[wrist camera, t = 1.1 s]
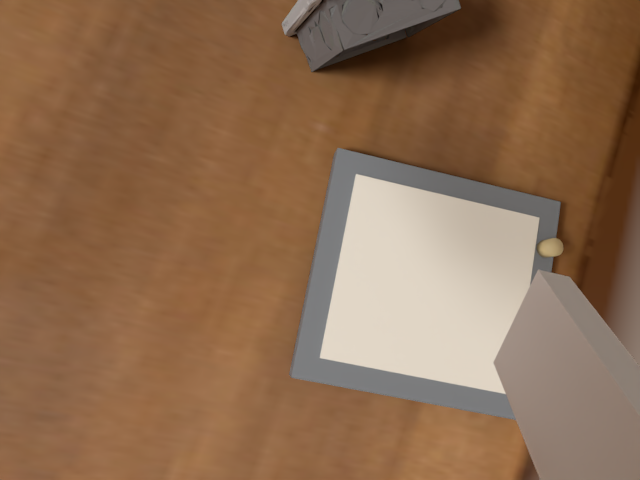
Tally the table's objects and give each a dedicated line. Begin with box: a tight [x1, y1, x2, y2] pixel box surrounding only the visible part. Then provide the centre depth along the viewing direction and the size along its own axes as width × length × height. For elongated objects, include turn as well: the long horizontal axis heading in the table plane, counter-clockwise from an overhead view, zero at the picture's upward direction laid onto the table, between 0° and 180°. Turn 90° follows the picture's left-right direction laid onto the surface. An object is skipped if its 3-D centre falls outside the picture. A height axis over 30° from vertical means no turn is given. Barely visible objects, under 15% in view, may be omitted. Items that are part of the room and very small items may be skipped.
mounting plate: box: [289, 148, 563, 420], centre depth 34 cm, size 15×16×3 cm
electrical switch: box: [282, 0, 461, 72], centre depth 33 cm, size 9×5×9 cm, turn 114°
